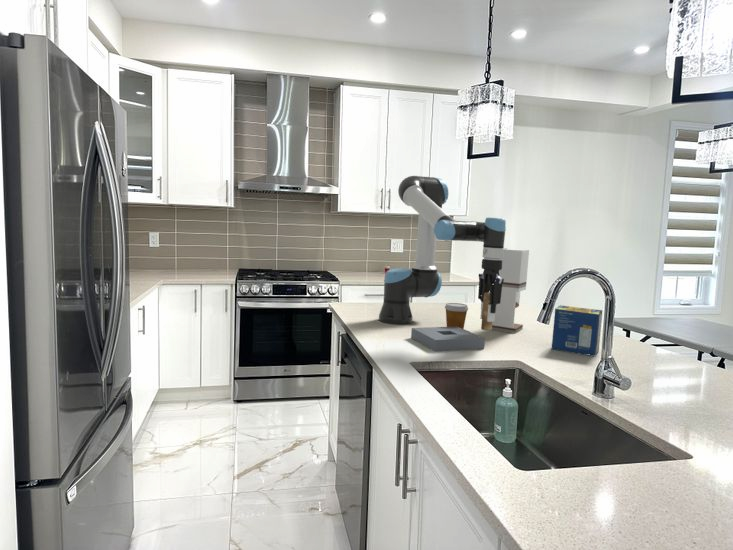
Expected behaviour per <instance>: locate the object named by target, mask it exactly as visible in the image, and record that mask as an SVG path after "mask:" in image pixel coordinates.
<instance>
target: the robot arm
mask: <svg viewBox="0 0 733 550" xmlns="http://www.w3.org/2000/svg"><path fill="white" fill-rule="evenodd" d="M397 192H398V197H399V199H400V201H402V203H403V204H405V205H406V206H408V207H411V208H412V209H413V210H414V211H416V212H417V214H418V221H417V223H418V224H417V236H416V252H415V262H414V264H413V265H412V266H411V269H410V268H405V267H404V268H403V267H402V268H401V267H400V268H392V269H388V270H387V271H386V272H385V273H384V279H383V282H384V286H383V304H382V305H381V309H380V311H379V314H378V321H380V322H382V323H385V324H392V325H406V324H412V323H413V314H412V310H411V306H410V299H411V298H429V297H434V296H437V294H439V293H440V291H441V288H442V284H443V282H442V281H443V280H442V275H441V274H440V273H439V272H438V268H437V266H436V265H435V262H436V261H435V259H436V245H437V239H438V240H439V241H440V240H441V241H446V242H448V241H457V242H458V241H462V242H480V243H482V242H483V244H482V246H483V247H482V259H481V269H482V270H483V273H478V294H477V297H478V298H477V299H478V300H480V302H481V303H480V305H481V306H480V320H482V312H483V300H484V292H490V303H488V316H487V321H488V322H494V320H495V312H496V305H497V304H500V301H501V292H502V284H503V281H504V278H500V277H499V270H501V269H502V262H503V261H502V260H501V259H502V258H503V251H504V248H505V237H506V228H507V227H506V223H507V221H506V219H505V218H504V217H485V220H484V221H483V222H482V221H473V220H472V221H465V220H464V221H463V220H456V219H454V218H453V217H452V216H450V215H449V214H448V213H446V211H444V210H443V205H445V204H446V203H447V200H449V199H448V198H449V187H448V185H447V183H446V181H445V180H444V179H443V178H439V177H433V176H432V177H431V176H421V175H409V176H406V177H405V178H404V179H403V180H402V181H401V182H400V184H399V186H398V189H397Z"/></svg>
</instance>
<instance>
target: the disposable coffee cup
mask: <svg viewBox="0 0 733 550" xmlns="http://www.w3.org/2000/svg"><path fill="white" fill-rule="evenodd" d="M444 308H445V320H446V327H460V328H462V329H464V328H465V324H466V318H467V312H468V310H469V308H468V304H465V303H461V302H460V303H459V302H446V304H445V306H444ZM464 330H465V329H464Z"/></svg>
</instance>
